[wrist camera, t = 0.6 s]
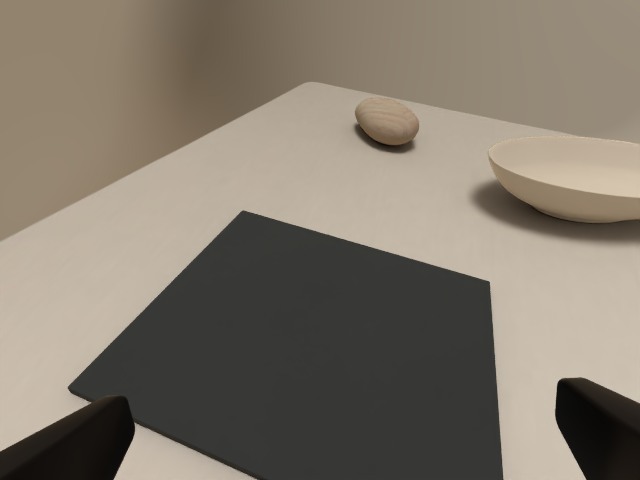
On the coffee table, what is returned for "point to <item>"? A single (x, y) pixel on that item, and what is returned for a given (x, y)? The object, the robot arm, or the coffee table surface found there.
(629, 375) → the coffee table surface
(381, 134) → the decorative stone
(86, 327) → the coffee table surface
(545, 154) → the bowl
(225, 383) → the mat
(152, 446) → the coffee table surface
